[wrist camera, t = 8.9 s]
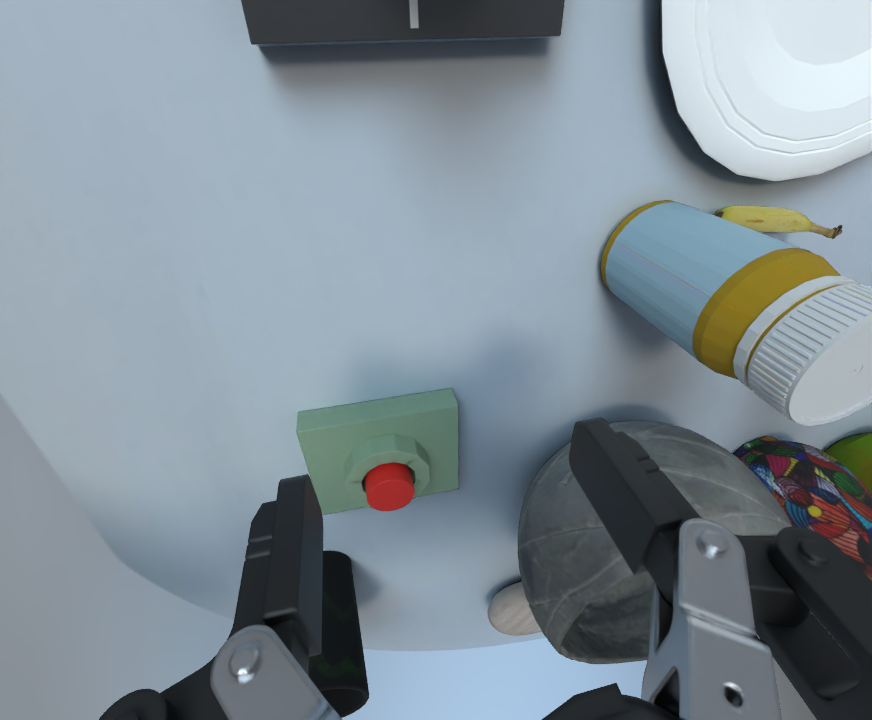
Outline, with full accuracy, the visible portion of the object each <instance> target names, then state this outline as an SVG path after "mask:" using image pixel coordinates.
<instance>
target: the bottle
mask: <svg viewBox="0 0 872 720" xmlns="http://www.w3.org/2000/svg"><path fill="white" fill-rule="evenodd" d="M601 272H602V278H603V281H604V283H605V284H606V286H607V288H608V289H609V290H610V291H611V292H612V293H613V294H614V295H616V296H617V297H618V298H619V299H621V300H622V301H623V302H625V303H626V304H627V305H628V306H630V307H631V308H632V309H633V310H635V311H636V312H637V313H639V314H640V315H641V316H642V317H644V318H645V319H646V320H647V321H649V322H650V323H651V324H652V325H654V326H655V327H656V328H658V329H659V330H660V331H661V332H663V333H664V334H665V335H666V336H668V337H669V338H670V339H672V340H673V341H674V342H675V343H677V344H678V345H679V346H680V347H682V348H683V349H684V350H686V351H687V352H688V353H689V354H691V355H692V356H693V357H694V358H696V359H697V360H698V361H700V362H701V363H703V364H704V365H706V366H707V367H708V368H710V369H711V370H713V371H714V372H717V373H720V374H723V375H726V376H729V377H732V378H735V379H738V380H740V381H741V383H743V384H744V385H745V386H747V387H748V388H749V389H751V390H753V391H754V392H755V393H756V394H757V395H758V396H759V397H761V398H762V399H763V400H765V401H766V402H767V403H769V404H770V405H771V406H773V407H774V408H775V409H777V410H778V411H779V412H780V413H782V414H783V415H784V416H786V417H787V418H788V419H790V420H792V421H794V422H797V423H798V424H801V425H806V426H815V425H822V424H826V423H830V422H833V421H836V420H839V419H841V418H844V417H846V416H848V415H850V414H852V413H854V412H856V411H858V410H860V409H862V408H863V407H865V406H867V405H868V404H870V403H871V402H872V287H870V286H867V285H861V284H860V283H858V282H856V281H854V280H851V279H849V278H846V277H844V276H841V275H840V274H839V273H838V272H837V271H836V270H835V269H834V268H833V267H832V266H831V265H830V264H829V263H828V262H827V261H826V260H825V259H824V258H823V257H821V256H819V255H816V254H814V253H812V252H810V251H808V250H805V249H803V248H800V247H797V246H795V245H792V244H789V243H787V242H784V241H781V240H779V239H776V238H773V237H771V236H768V235H765V234H763V233H760V232H757V231H755V230H752V229H749V228H747V227H744V226H741V225H739V224H736V223H733V222H731V221H728V220H725V219H723V218H720V217H717V216H715V215H712V214H709V213H707V212H704V211H701V210H699V209H696V208H693V207H691V206H688V205H685V204H681V203H678V202H674V201H671V200H663V201H655V202H652V203H649V204H647V205H645V206H643V207H640V208H639V209H637V210H635V211H634V212H633V213H632V214H630V215H629V216H628V217H627V218H625V219H624V220H623V221H622V222H621V223H620V224H619V226H618V227H617V228H616V229H615V231H614V232H613V233H612V235H611V236H610V238H609V240H608V243H607V245H606V247H605V249H604V252H603V256H602V262H601Z"/></svg>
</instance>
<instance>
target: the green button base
mask: <svg viewBox="0 0 872 720" xmlns="http://www.w3.org/2000/svg"><path fill="white" fill-rule="evenodd" d="M458 415H459V406H458V403H457V400H456V398H455V395H454V392H453V390H452V388H450V389H443V390H437V391H430V392H424V393H418V394H411V395H405V396H398V397H392V398H386V399H379V400H373V401H366V402H360V403H354V404H347V405H341V406H334V407H328V408H321V409H315V410H309V411H302V412H298V420H297V430H296V433H297V436H298V439H299V442H300V445H301V448H302V452H303V455H304V458H305V461H306V464H307V467H308V471H309V474H310V477H311V480H312V483H313V486H314V489H315V493H316V496H317V498H318V501H319V504H320V507H321V511H322V515H326V514H331V513H336V512H342V511H347V510H352V509H357V508H362V507H371V506H370V505H369V504H368V502H367V497H366V485H365V478H366V476H367V474H368V472H369V471H370V470H371V469H373V468H375V467H376V466H378V465H381V464H386V463H392V462H396V463H401V464H404V465H406V466H407V467H408V468H409V469H410V471H411V475H412V480H413V485H414V490H415V494H414V497H413V499H414V498H416V497H419V496H424V495H429V494H434V493H440V492H445V491H450V490H455V489H458Z"/></svg>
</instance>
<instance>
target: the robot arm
mask: <svg viewBox="0 0 872 720" xmlns="http://www.w3.org/2000/svg"><path fill="white" fill-rule="evenodd" d="M569 464H570V468H571V471H572V473H573V475H574V477H575V478H576V480H577V482H578V483H579V485H580V487H581V488H582V490H583V492H584V493H585V495H586V497H587V498H588V500H589V502H590V503H591V505H592V507H593V508H594V510H595V511H596V513H597V515H598V516H599V518H600V520H601V521H602V523H603V525H604V526H605V528H606V530H607V531H608V533H609V535H610V536H611V538H612V540H613V541H614V543H615V545H616V546H617V548H618V550H619V551H620V553H621V555H622V556H623V558H624V560H625V561H626V563H627V564H628V566H629V568H630V569H631V571H632V573H633V574H634V575H636V574H640V573H644V572H649V574H650V575H651V577H652V578H653V580H654V581H653V584H652V597H651V616H650V635H649V653H648V660H647V665H646V668H645V672H644V677H643V683H642V694H641V699H640V698H637V697H632V696H628V695H622V694H621V692H620V690H619V688H618V686H617V683H614V684H611V685H607V686H604V687H600V688H597V689H594V690H591V691H587V692H584V693H580V694H577V695H574V696H573V697H571V698H570V699H569V700H567V701H566V702H565V703H564V704H562V705H561V706H560V707H558V708H557V709H555V710H554V711H553V712H551V713H550V714H549V715H548V716H546V717H545V718H543V719H542V720H782V716H781V709H780V703H779V696H778V690H777V683H776V678H775V670H774V663H773V658H774V659H775V660H776V662H777V663H778V664H779V666H780V668H781V669H782V670H783V672H784V673H785V675H786V676H787V677H788V679H789V680H790V682H791V683H792V685H793V686H794V687H795V689H796V690H797V691H798V693H799V695H800V696H801V697H802V699H803V700H804V702H805V703H806V705H807V706H808V707H809V709H810V710H811V712H812V713H813V714H814V716H815V717H816V719H817V720H872V580H871V579H870V578H869V577H868V576H867V575H866V574H865V573H864V572H863V571H862V570H861V569H860V568H859V567H858V566H857V565H856V564H855V563H854V562H853V561H852V560H851V559H850V558H849V557H848V556H847V555H846V554H845V553H844V552H843V551H842V550H841V549H840V548H839V547H838V546H836V545H835V544H834V543H833V542H832V541H830V540H829V539H827V538H826V537H824V536H823V535H821V534H819V533H817V532H815V531H812V530H810V529H806V528H802V527H795V526H791V527H786V528H783V529H782V530H780V531H779V533H778V534H777V535H776V537H775V538H765V537H754V536H743V535H736V534H733V533H732V532H731V531H729V530H728V529H727V528H725V527H724V526H722V525H720V524H718V523H716V522H714V521H711V520H708V519H703V518H702V517H701V516H700V515H699V514H698V513H697V512H696V511H695V510H694V508H693V507H692V506H691V505H690V504H689V502H688V501H687V500H686V499H685V498H684V496H683V495H682V494H681V493H680V492H679V490H678V489H677V488H676V487H675V486H674V484H673V483H672V482H671V481H670V480H669V478H668V477H667V476H666V475H665V474H664V472H663V471H662V470H661V471H660V469H659V466H658V465H657V464H656V463H655V462H654V460H653V459H650V456H649V454H648V453H647V452H646V451H645V450H644V448H643V447H642V446H641V445H640V444H639V442H637V441H636V440H634V439H633V438H631V437H630V436H628V435H627V434H625V433H624V432H622V431H620V432H614V430H613V429H612V428H611V427H610V425H609V424H608V423H607V422H606V421H605V420H604V419H603V418H595V419H590V420H585V421H579V422H576V424H575V426H574V431H573V436H572V441H571V446H570V451H569ZM245 558H246V561H245V562H244V568H243V573H242V579H241V585H240V590H239V596H238V602H237V607H236V613H235V619H234V624H233V628H232V630H231V633H230V635H229V638H228V639H227V641H226V642H225V643H224V645H223V646H222V647H221V649H220V650H219V652H218V653H217V655H216V656H215V657H214V658H213V659H212V660H211V661H210V662H209V663H207V664H206V665H205V666H204V667H202V668H201V669H199V670H198V671H196V672H194V673H193V674H191V675H189V676H188V677H186V678H184V679H183V680H181V681H180V682H178V683H176V684H175V685H173V686H171V687H170V688H168V689H166V690H165V691H163V692H161V693H158V692H156V691H155V690H151V689H141V690H136V691H134V692H131V693H129V694H127V695H126V696H124V697H122V698H121V699H119V700H118V701H117V702H115V703H114V704H113V705H112V706H111V707H109V708H108V709H107V711H106V712H105V713H104V714H103V715H102V716H101V717H100V719H99V720H342V719H341V717H340V716H339V715H338V713H337V712H336V711H335V710H334V708H333V707H332V706H331V705H330V704H329V703H328V702H327V700H326V699H325V698H324V696H323V695H322V694H321V692H320V691H319V690H318V688H317V687H316V686H315V684H314V683H313V682H312V680H311V679H310V678H309V676H308V667H309V657H311V656H315V655H319V654H321V637H322V574H323V518H322V511H321V507H320V504H319V501H318V498H317V496H316V493H315V490H314V487H313V485H312V482H311V479H310V477H309V475H308V474H307V475H302V476H296V477H291V478H286V479H281V480H280V482H279V486H278V493H277V501H272V502H267V503H262V505H261V507H260V508H259V510H258V512H257V514H256V515H255V517H254V519H253V520H252V522H251V528H250V533H249V539H248V545H247V550H246V556H245ZM813 614H814V615H815V616H816V617H815V616H814V615H813ZM818 620H819V621H820V622H821V623H820V622H819V621H818ZM823 626H824V627H825V628H826V629H825V628H824V627H823ZM828 632H829V633H830V634H831V635H830V634H829V633H828ZM756 633H757V635H758V636H759V638H760V639H759V638H758V637H757V635H756ZM832 636H833V637H832ZM833 638H834V639H835V640H836V641H835V640H834V639H833ZM838 644H839V645H840V646H841V647H840V646H839V645H838ZM843 650H844V651H845V652H846V653H845V652H844V651H843ZM772 656H773V658H772ZM848 656H849V657H850V658H849V657H848Z"/></svg>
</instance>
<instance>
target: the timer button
mask: <svg viewBox="0 0 872 720" xmlns="http://www.w3.org/2000/svg"><path fill="white" fill-rule="evenodd" d="M365 485H366V497H367V502H368V504H369V505H370V506H371V507H372V508H374V509H376V510H380V511H392V510H397V509H399V508H402V507H404V506H405V505H407V504H408V503H409V502H410V501H411V500H412V499H413V497H414V494H415V490H414V485H413V480H412V475H411V471H410V469H409V468H408V467H407V466H406V465H404V464H401V463H396V462H392V463H386V464H381V465H378V466H376V467H375V468H373V469H371V470H370V471H369V472H368V474H367V476H366V478H365Z"/></svg>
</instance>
